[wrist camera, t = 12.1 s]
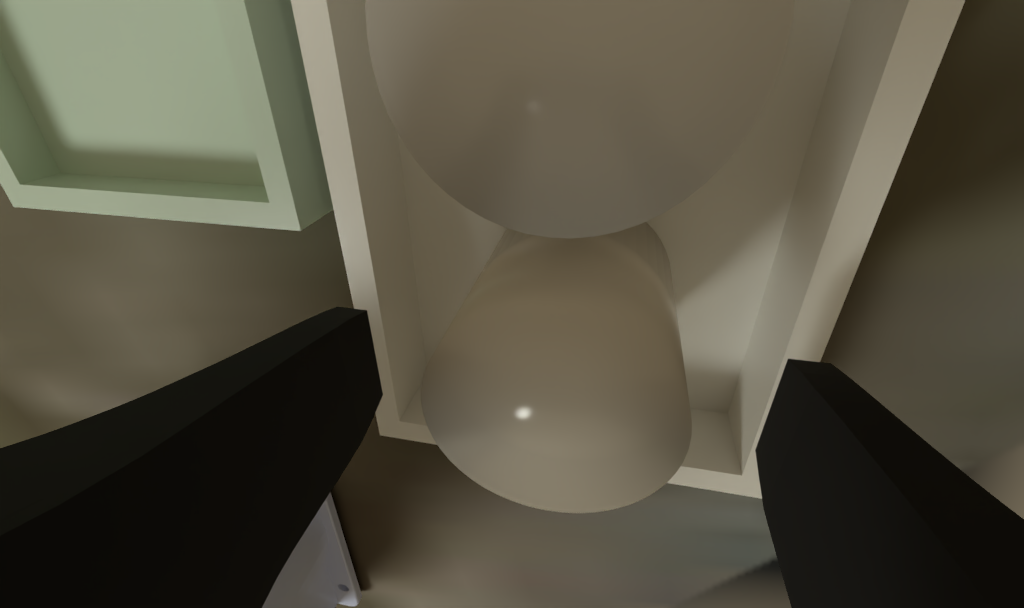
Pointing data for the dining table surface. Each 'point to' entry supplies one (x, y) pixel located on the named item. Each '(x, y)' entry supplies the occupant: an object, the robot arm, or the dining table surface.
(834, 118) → the bin
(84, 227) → the dining table surface
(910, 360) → the dining table surface
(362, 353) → the robot arm
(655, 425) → the pebble
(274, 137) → the tray
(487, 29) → the pebble
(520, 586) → the dining table surface
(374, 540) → the dining table surface
